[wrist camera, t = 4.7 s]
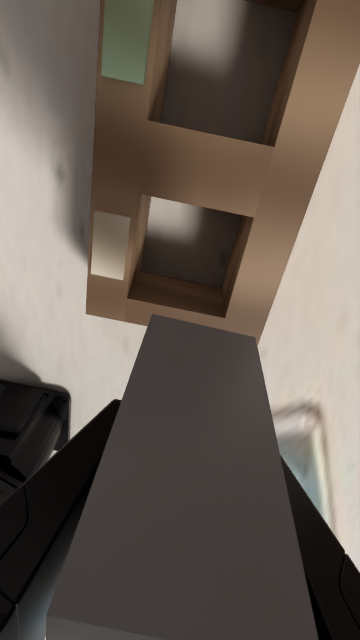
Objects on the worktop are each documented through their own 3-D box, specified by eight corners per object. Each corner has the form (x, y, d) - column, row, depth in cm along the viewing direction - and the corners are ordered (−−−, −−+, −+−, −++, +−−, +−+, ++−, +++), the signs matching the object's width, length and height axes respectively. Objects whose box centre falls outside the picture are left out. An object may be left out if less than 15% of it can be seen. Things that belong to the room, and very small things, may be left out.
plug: (226, 411, 13) (240, 733, 6) (137, 392, 13) (45, 695, 6) (255, 337, 11) (325, 672, 4) (152, 313, 11) (46, 614, 4)
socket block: (248, 313, 21) (257, 351, 17) (106, 285, 21) (84, 316, 17) (358, -23, 13) (416, -86, 10) (134, -73, 13) (104, -158, 9)
